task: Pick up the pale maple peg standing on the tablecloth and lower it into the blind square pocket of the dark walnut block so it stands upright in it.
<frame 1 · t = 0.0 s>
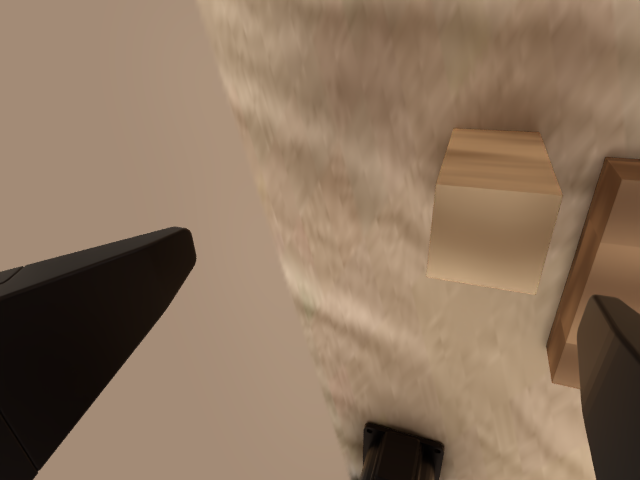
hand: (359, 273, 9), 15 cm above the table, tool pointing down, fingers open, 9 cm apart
maple peg: (488, 168, 21), on the table
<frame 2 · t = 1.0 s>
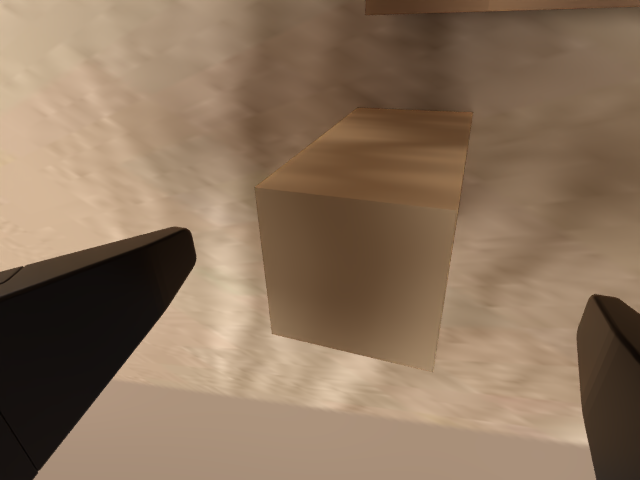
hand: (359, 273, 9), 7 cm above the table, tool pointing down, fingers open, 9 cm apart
maple peg: (408, 164, 15), on the table
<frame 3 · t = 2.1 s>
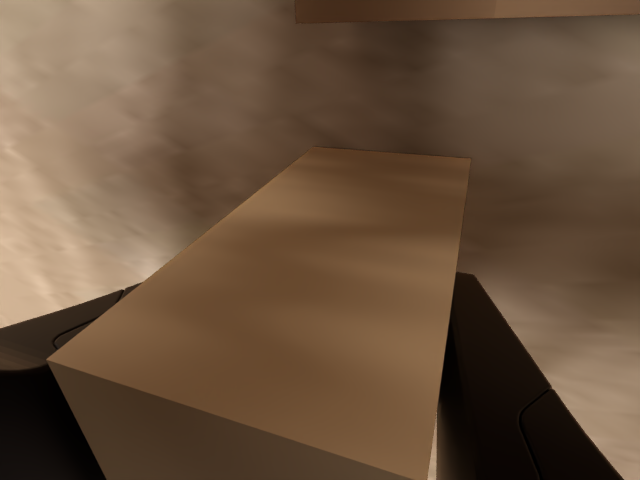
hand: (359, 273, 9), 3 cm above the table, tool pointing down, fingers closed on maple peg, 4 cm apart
maple peg: (383, 223, 11), on the table, touching gripper
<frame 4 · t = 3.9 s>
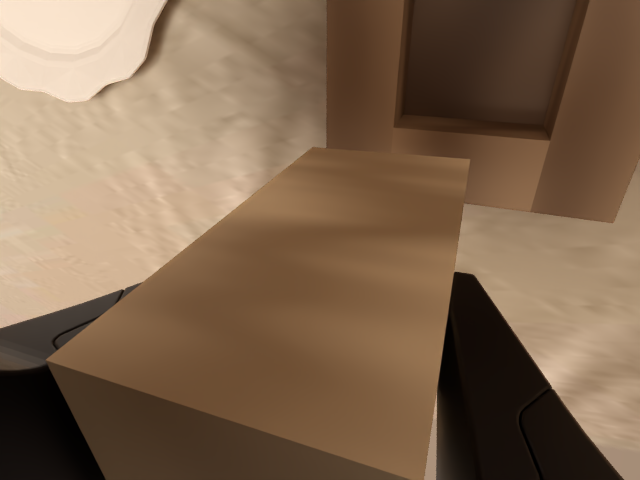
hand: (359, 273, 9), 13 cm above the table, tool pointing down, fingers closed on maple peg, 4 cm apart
socket block: (483, 45, 17), on the table
maple peg: (383, 223, 11), point 10 cm above the table, touching gripper
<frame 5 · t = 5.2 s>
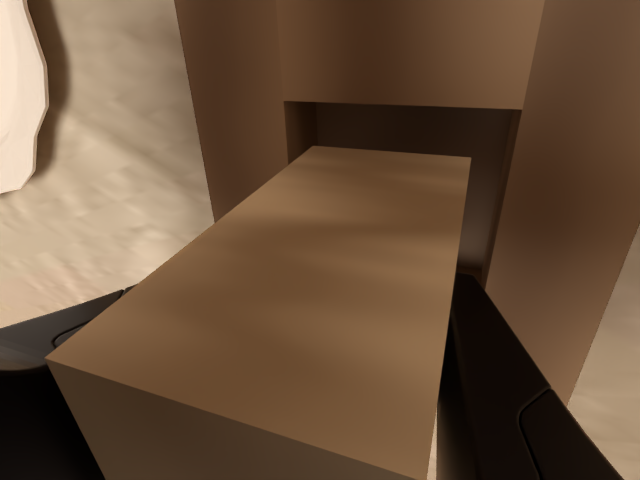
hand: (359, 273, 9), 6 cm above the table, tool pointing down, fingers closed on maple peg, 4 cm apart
socket block: (404, 176, 14), on the table
maple peg: (383, 222, 11), point 4 cm above the table, touching gripper
when the fingers open (4 cm above the table, at t = 5.9 s): maple peg stays where it is, resting on socket block.
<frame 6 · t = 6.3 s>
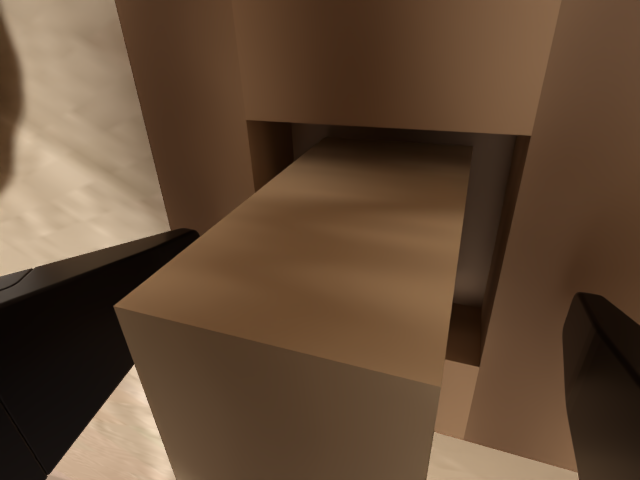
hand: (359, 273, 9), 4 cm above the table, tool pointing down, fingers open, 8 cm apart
socket block: (393, 201, 12), on the table
maple peg: (391, 208, 12), resting on socket block
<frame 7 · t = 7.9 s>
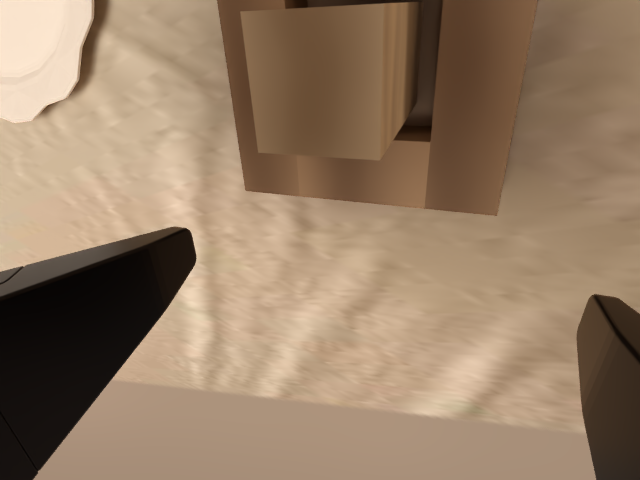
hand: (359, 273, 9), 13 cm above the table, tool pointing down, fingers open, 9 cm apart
socket block: (375, 55, 18), on the table
maple peg: (374, 56, 18), resting on socket block
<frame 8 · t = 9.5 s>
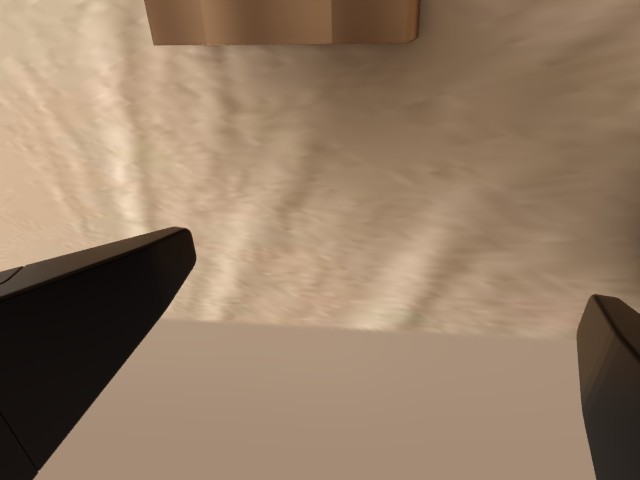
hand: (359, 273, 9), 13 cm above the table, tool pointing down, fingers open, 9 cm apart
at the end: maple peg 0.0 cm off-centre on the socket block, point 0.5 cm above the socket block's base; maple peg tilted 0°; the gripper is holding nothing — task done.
